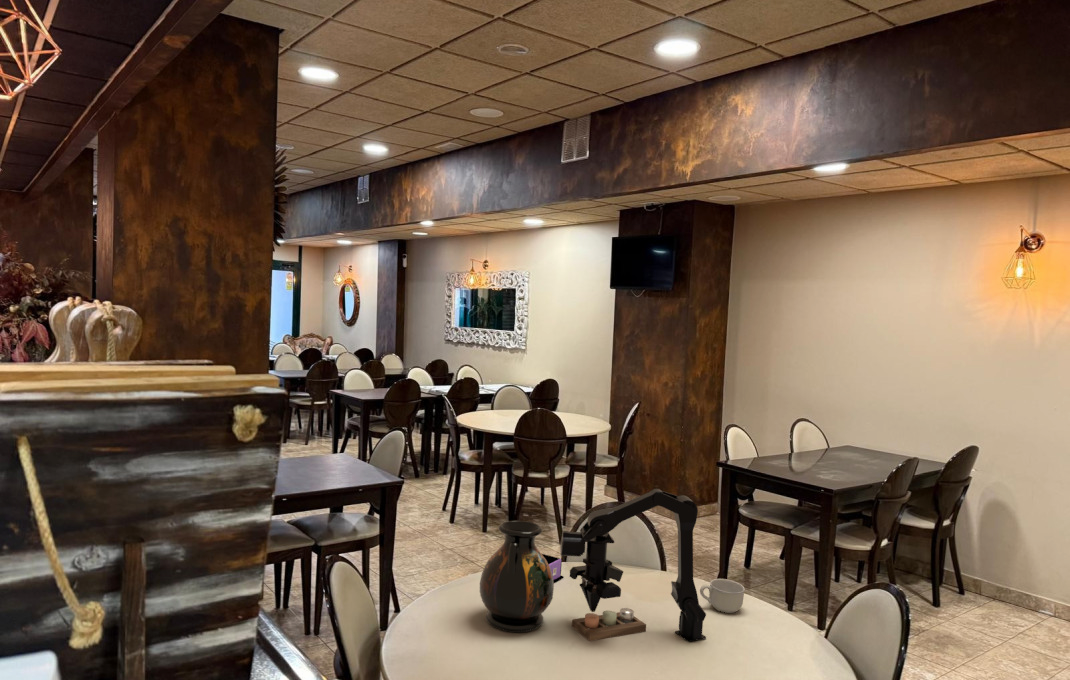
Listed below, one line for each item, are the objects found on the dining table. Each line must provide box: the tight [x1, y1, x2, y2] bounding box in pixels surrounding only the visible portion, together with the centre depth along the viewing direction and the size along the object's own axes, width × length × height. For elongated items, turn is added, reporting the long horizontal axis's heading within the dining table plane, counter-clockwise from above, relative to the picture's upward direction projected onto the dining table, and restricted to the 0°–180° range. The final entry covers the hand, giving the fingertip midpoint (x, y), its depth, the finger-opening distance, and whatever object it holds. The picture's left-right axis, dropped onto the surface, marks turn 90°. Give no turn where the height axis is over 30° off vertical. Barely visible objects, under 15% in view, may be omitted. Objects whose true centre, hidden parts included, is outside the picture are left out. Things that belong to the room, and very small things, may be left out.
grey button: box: [619, 607, 635, 624], centre depth 207 cm, size 4×4×3 cm
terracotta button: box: [584, 612, 599, 629], centre depth 202 cm, size 4×4×3 cm
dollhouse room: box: [541, 553, 564, 584], centre depth 243 cm, size 12×12×7 cm
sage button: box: [602, 610, 618, 627], centre depth 204 cm, size 4×4×3 cm
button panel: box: [571, 611, 647, 642], centre depth 204 cm, size 10×19×2 cm, turn 117°
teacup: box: [699, 578, 746, 614], centre depth 225 cm, size 14×11×8 cm
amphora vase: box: [479, 520, 555, 633], centre depth 205 cm, size 22×22×28 cm
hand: (592, 611), depth 202 cm, fingers closed
